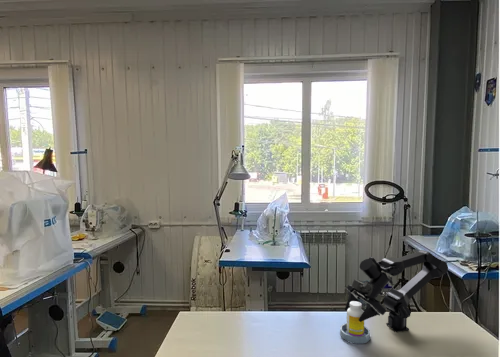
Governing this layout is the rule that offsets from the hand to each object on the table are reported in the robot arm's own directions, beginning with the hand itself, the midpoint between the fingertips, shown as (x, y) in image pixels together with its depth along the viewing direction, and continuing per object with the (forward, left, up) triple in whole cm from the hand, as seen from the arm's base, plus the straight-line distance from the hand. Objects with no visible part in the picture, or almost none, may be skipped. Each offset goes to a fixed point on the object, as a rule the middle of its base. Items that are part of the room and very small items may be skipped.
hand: (352, 315), depth 130 cm
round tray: (-1, 0, -9) cm, 9 cm away
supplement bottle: (-2, 0, -8) cm, 8 cm away
